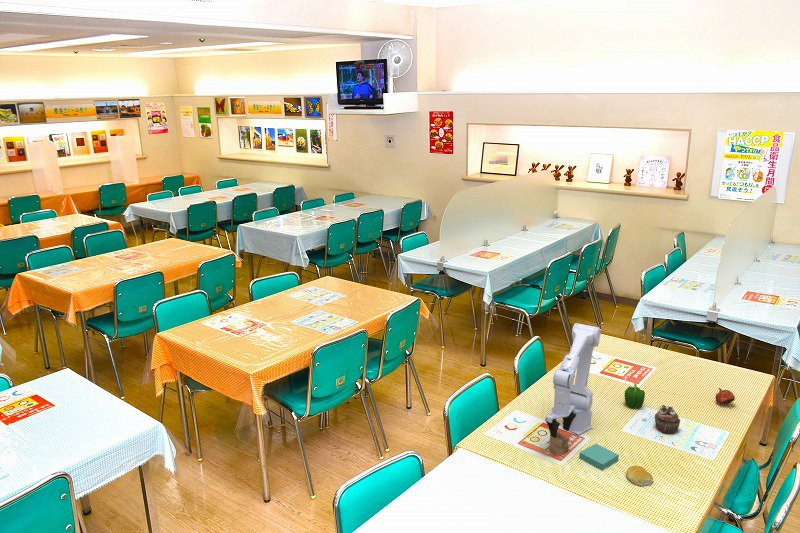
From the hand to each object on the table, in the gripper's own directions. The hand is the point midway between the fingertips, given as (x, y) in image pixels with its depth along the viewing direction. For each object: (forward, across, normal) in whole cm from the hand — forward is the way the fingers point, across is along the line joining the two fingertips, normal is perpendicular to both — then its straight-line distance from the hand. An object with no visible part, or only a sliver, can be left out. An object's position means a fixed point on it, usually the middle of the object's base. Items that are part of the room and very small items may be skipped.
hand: (559, 433), depth 233 cm
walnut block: (+8, 0, 0) cm, 8 cm away
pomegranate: (+8, -86, +22) cm, 89 cm away
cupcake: (+8, -47, +17) cm, 51 cm away
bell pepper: (+8, -54, -2) cm, 55 cm away
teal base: (+8, -7, +13) cm, 17 cm away
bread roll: (+8, -8, +29) cm, 31 cm away
